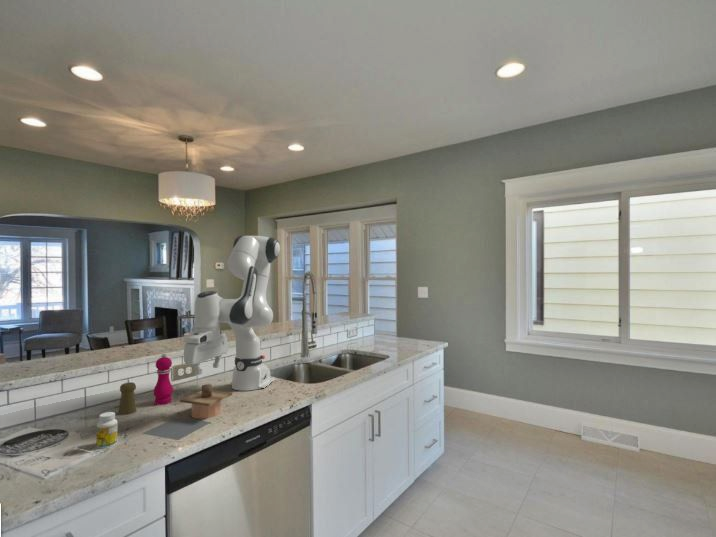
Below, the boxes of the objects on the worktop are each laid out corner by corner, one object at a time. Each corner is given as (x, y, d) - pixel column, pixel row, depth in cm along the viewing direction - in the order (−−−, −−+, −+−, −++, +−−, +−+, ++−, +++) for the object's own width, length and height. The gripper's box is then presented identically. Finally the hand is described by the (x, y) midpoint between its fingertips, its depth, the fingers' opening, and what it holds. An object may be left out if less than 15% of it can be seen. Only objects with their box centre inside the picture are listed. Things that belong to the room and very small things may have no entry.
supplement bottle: (121, 443, 116) (121, 412, 116) (104, 450, 111) (104, 418, 111) (109, 440, 118) (109, 410, 118) (92, 447, 113) (92, 415, 113)
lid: (204, 391, 149) (204, 379, 149) (232, 394, 145) (232, 382, 145) (179, 401, 137) (179, 388, 137) (208, 406, 132) (209, 392, 133)
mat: (177, 418, 137) (177, 416, 137) (210, 423, 132) (210, 422, 132) (142, 434, 123) (142, 433, 123) (178, 441, 118) (178, 439, 118)
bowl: (204, 408, 147) (205, 392, 147) (226, 411, 144) (226, 395, 144) (185, 417, 137) (186, 401, 138) (208, 420, 134) (208, 404, 134)
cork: (127, 415, 139) (128, 386, 139) (114, 414, 140) (114, 384, 140) (140, 409, 145) (140, 381, 145) (127, 408, 146) (127, 380, 146)
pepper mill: (150, 402, 153) (151, 353, 154) (168, 398, 159) (169, 351, 159) (156, 406, 148) (157, 356, 149) (175, 402, 154) (176, 353, 154)
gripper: (218, 329, 152) (219, 363, 152) (180, 338, 133) (180, 377, 133) (231, 330, 150) (232, 364, 150) (194, 340, 131) (195, 379, 131)
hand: (207, 370), depth 141 cm, fingers open, 8 cm apart
